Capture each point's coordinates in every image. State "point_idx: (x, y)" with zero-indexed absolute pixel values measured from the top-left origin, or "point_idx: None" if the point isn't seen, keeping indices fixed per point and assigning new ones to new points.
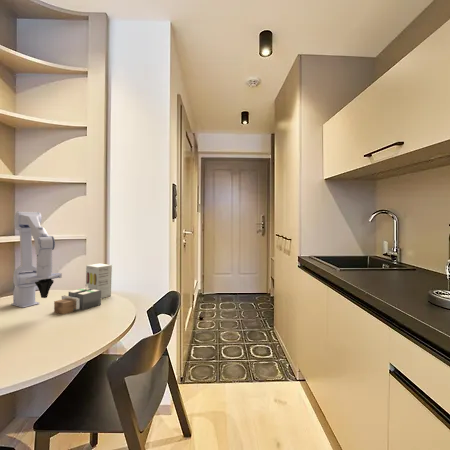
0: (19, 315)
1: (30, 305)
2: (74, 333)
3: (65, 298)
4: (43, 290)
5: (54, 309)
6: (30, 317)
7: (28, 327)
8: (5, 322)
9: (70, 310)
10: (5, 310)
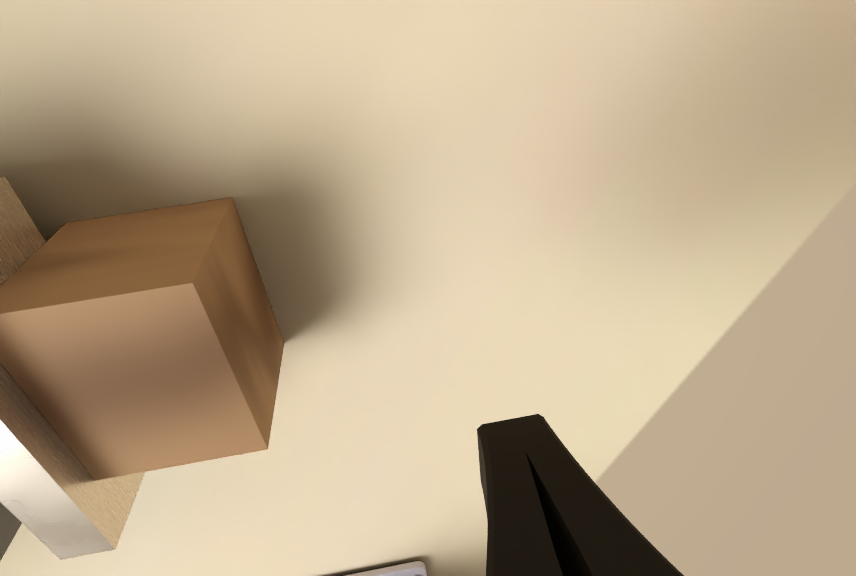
0: None
1: (364, 573)
2: None
3: (81, 474)
4: (668, 561)
5: (278, 363)
6: (524, 336)
7: (764, 22)
8: (710, 341)
9: (102, 229)
10: None
